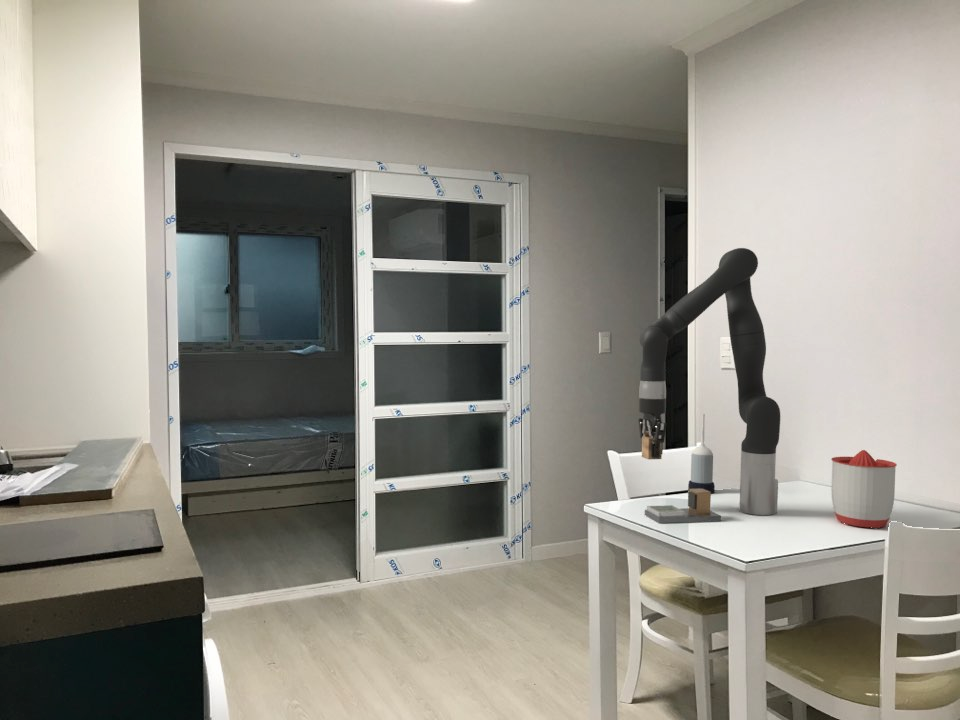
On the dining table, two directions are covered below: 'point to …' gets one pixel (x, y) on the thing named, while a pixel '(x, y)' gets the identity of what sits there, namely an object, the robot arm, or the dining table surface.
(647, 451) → the tan wooden block
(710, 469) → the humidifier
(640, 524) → the dining table surface
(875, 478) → the citrus juicer
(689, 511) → the rail dock
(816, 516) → the dining table surface
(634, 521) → the dining table surface
